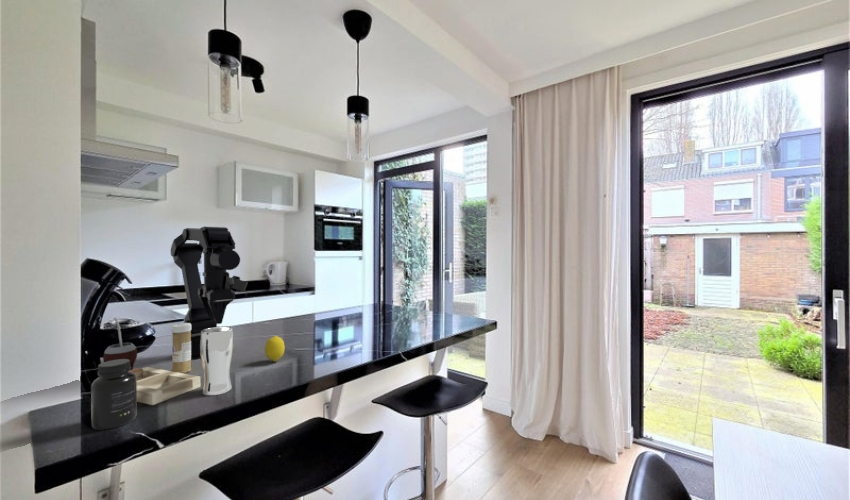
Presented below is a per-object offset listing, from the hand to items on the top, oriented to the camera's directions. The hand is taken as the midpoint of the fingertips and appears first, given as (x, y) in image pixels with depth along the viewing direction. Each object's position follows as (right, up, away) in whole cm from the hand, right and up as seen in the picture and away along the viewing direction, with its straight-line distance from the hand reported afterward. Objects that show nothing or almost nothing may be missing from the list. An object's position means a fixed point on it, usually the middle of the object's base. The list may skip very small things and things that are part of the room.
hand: (215, 321), depth 103 cm
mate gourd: (-23, -13, -7) cm, 27 cm away
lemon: (+16, -13, +3) cm, 21 cm away
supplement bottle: (0, -14, -34) cm, 36 cm away
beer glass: (+12, -13, -18) cm, 26 cm away
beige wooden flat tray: (-6, -13, -17) cm, 23 cm away
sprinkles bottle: (-6, -13, -6) cm, 16 cm away
